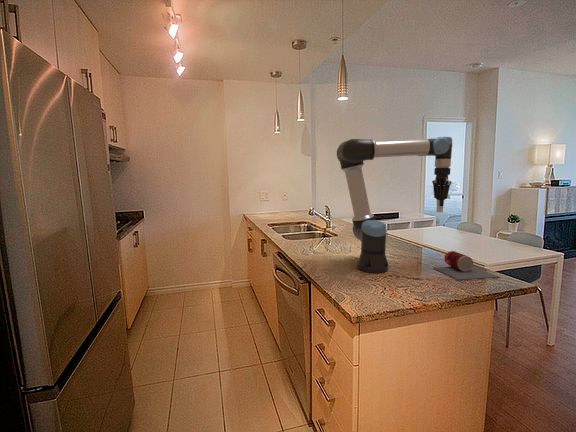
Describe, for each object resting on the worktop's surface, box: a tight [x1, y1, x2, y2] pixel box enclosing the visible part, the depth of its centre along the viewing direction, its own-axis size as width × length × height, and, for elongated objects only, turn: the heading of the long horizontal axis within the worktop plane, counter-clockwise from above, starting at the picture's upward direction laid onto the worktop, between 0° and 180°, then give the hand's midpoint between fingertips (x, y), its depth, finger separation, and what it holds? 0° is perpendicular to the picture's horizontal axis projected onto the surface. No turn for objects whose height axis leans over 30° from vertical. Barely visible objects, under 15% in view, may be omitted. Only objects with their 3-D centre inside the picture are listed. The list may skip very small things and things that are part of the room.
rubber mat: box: [432, 265, 500, 282], centre depth 152 cm, size 21×18×1 cm
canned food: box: [444, 250, 474, 272], centre depth 157 cm, size 8×8×11 cm
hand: (439, 212), depth 171 cm, fingers closed
